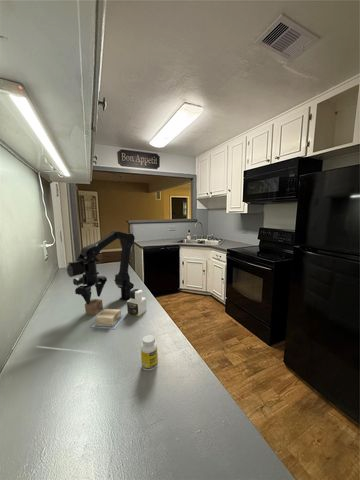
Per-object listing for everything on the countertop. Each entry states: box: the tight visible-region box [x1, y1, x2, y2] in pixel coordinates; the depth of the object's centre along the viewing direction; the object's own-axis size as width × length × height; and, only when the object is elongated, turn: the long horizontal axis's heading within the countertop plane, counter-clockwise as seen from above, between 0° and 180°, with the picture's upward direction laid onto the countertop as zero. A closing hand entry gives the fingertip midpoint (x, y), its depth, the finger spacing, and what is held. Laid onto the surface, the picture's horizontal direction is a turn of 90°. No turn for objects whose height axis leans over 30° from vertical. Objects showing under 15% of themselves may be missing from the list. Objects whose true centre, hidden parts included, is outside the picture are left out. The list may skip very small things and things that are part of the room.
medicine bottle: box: [126, 288, 148, 317], centre depth 103 cm, size 7×7×12 cm
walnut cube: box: [84, 298, 104, 316], centre depth 105 cm, size 6×6×6 cm
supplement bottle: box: [140, 334, 159, 371], centre depth 67 cm, size 5×5×10 cm
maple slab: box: [95, 308, 122, 327], centre depth 95 cm, size 8×8×4 cm
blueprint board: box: [90, 314, 127, 330], centre depth 95 cm, size 12×12×1 cm
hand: (93, 300), depth 105 cm, fingers open, 9 cm apart
